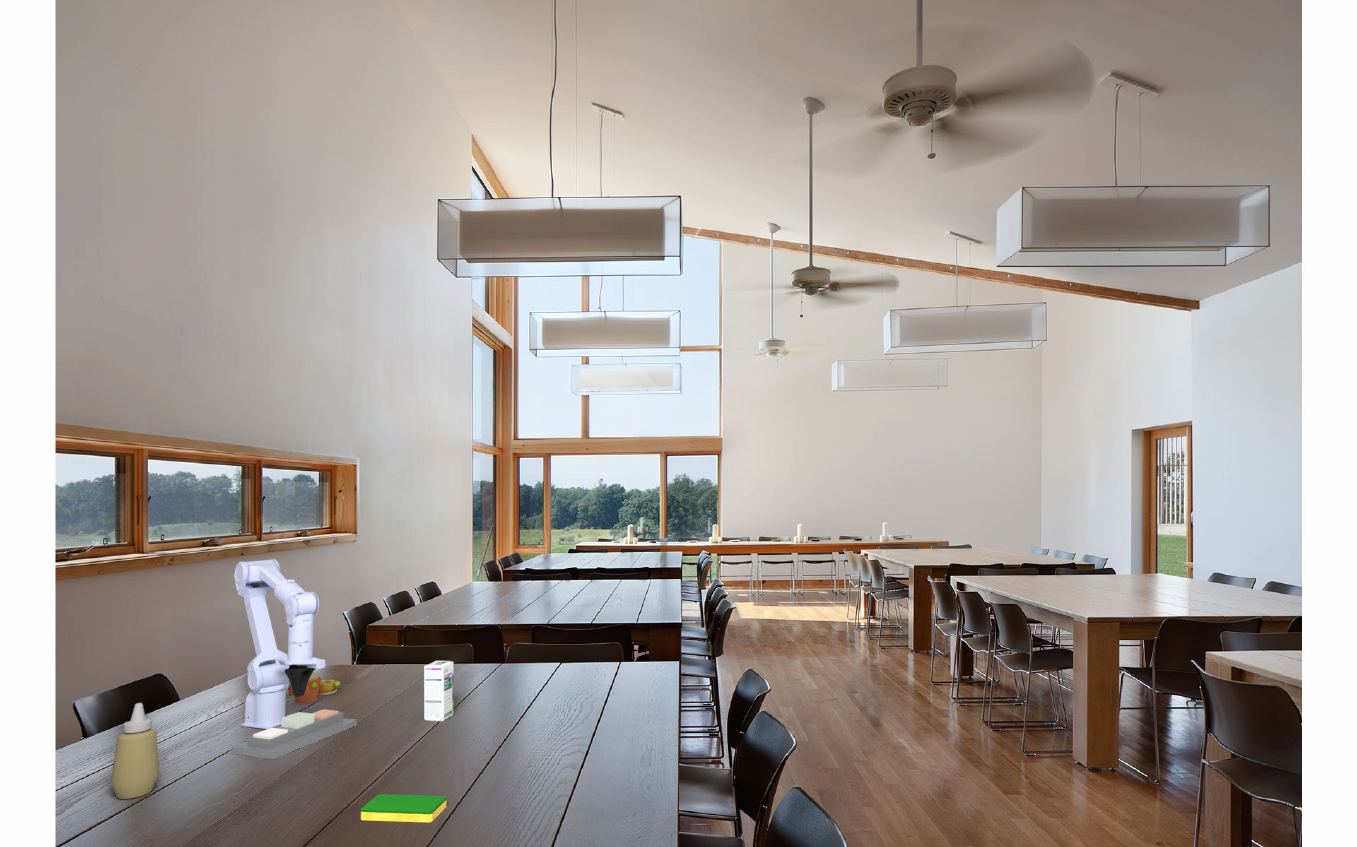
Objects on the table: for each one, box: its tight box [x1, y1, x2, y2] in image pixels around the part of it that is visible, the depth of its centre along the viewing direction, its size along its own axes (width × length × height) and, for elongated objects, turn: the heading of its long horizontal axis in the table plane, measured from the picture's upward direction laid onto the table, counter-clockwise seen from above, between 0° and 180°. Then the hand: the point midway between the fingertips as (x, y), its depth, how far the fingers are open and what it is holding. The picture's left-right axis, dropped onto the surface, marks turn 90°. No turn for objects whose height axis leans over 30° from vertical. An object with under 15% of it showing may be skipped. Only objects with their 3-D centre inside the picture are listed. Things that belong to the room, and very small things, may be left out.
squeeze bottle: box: [110, 702, 160, 800], centre depth 154 cm, size 8×8×18 cm
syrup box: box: [423, 660, 455, 722], centre depth 202 cm, size 6×6×14 cm
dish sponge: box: [360, 793, 448, 823], centre depth 142 cm, size 7×14×2 cm, turn 84°
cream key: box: [252, 727, 288, 739], centre depth 179 cm, size 5×5×2 cm
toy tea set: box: [287, 671, 341, 704], centre depth 226 cm, size 26×16×10 cm, turn 88°
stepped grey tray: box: [230, 711, 358, 760], centre depth 186 cm, size 13×26×4 cm, turn 160°
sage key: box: [281, 711, 315, 729], centre depth 187 cm, size 5×5×2 cm
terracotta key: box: [311, 709, 340, 719], centre depth 194 cm, size 5×5×2 cm
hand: (299, 695), depth 191 cm, fingers closed
